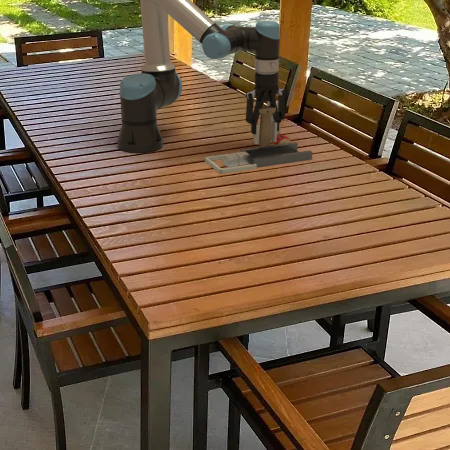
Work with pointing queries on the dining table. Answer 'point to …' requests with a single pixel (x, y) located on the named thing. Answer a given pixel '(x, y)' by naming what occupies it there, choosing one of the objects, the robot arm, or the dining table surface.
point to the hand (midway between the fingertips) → (264, 142)
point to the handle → (265, 125)
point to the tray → (226, 170)
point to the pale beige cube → (243, 158)
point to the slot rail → (277, 154)
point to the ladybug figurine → (281, 140)
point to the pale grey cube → (230, 160)
